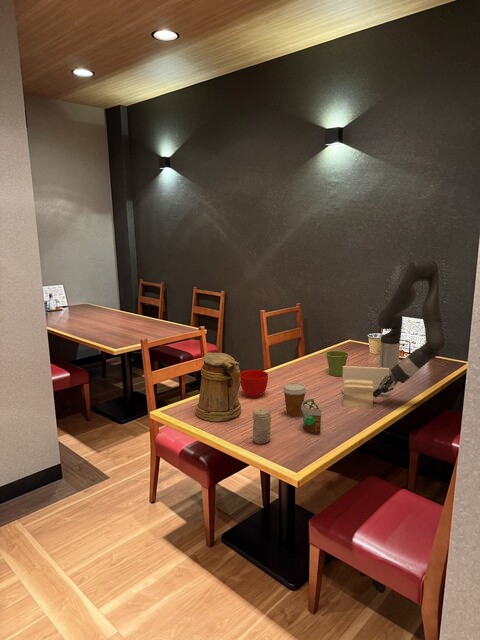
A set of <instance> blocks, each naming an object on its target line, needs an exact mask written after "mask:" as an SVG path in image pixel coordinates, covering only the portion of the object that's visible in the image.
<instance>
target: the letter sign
mask: <svg viewBox="0 0 480 640" xmlns="http://www.w3.org/2000/svg"><path fill="white" fill-rule="evenodd" d="M385 376H389V368H379V367H371V366H355V365H354V366H351V365H346V366H343V376H342V384H341V386H342V387H341V395H344V379H358V380H372V382H373V392H374V391H375V390H376V389H377V388H378V387H379V386H380V385H379V384H380V383H381V382H382V380H383V379H384V378H385ZM388 396H389V392H386V393H381V394H380V395H378V396H377V397H379V398H380V397H381V398H388Z"/></svg>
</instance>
